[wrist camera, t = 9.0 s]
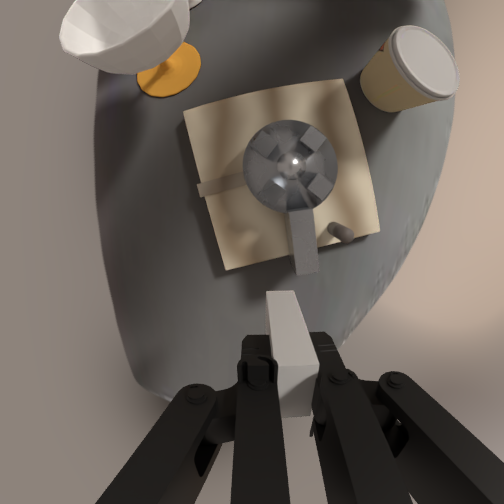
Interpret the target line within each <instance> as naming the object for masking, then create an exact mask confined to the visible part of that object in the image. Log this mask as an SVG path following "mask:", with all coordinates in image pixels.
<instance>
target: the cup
mask: <svg viewBox="0 0 504 504" xmlns="http://www.w3.org/2000/svg"><path fill="white" fill-rule="evenodd" d="M189 23H190V16H189V3H188V0H75V2H74V3H73V4H72V6H71V7H70V9H69V11H68V12H67V14H66V16H65V17H64V19H63V22H62V25H61V30H60V34H59V40H60V43H61V46H62V48H63V51H64V52H66V53H68V54H70V55H72V56H74V57H76V58H77V59H79V60H81V61H83V62H85V63H87V64H89V65H91V66H93V67H96V68H98V69H100V70H103V71H105V72H108V73H115V74H136V73H137V82H138V84H139V85H140V87H141V89H142V90H143V91H144V92H146V93H147V94H149V95H151V96H157V97H166V96H170V95H175V94H177V93H179V92H180V91H182V90H184V89H186V88H187V87H188V86H189V85H190V84H191V83H192V82H193V81H194V80H195V79H196V77H197V75H198V72H199V70H200V67H201V61H200V55H199V53H198V52H197V50H196V49H195V48H194V47H193V46H191V45H189V44H187V43H185V42H183V40H184V38H185V36H186V34H187V32H188V30H189Z"/></svg>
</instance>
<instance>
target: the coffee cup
mask: <svg viewBox="0 0 504 504" xmlns="http://www.w3.org/2000/svg"><path fill="white" fill-rule="evenodd" d="M459 81H460V79H459V70H458V67H457V64H456V62H455V60H454V58H453V56H452V54H451V53H450V51H449V50H448V48H447V47H446V46H445V45H444V43H443V42H442V41H441V40H440V39H439V38H437V37H436V36H435V35H434V34H432V33H431V32H429V31H427V30H426V29H423V28H421V27H418V26H413V25H408V26H400V27H398V28H396V29H395V30H394V31H393V32H392V33H391V35H390V37H389V38H388V39H387V40H386V42H385V43H384V44H383V45H382V46H381V48H380V49H379V50H378V51H377V53H376V54H375V55H374V56H373V58H372V59H371V60H370V61H369V63H368V64H367V65H366V67H365V68H364V69H363V71H362V73H361V76H360V84H361V88H362V91H363V93H364V95H365V97H366V98H367V99H368V100H369V102H370V103H371V104H373V105H374V106H375V107H377V108H378V109H380V110H382V111H385V112H398V111H402V110H405V109H409V108H413V107H416V106H420V105H424V104H427V103H431V102H435V101H442V100H447V99H449V98H451V97H452V96H453V95H454V94H455V93H456V91H457V89H458V86H459Z"/></svg>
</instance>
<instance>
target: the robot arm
mask: <svg viewBox="0 0 504 504" xmlns="http://www.w3.org/2000/svg"><path fill="white" fill-rule="evenodd" d="M237 373H238V382H237V383H236V384H235V385H234V386H232V387H230V388H228V389H225V390H220V391H215V390H214V389H212V388H211V387H210V386H207V385H204V384H191V385H188V386H185V387H183V388H182V389H181V390H180V391H179V392H178V393H177V394H176V396H175V397H174V398H173V400H172V401H171V403H170V404H169V405H168V407H167V408H166V410H165V411H164V412H163V414H162V415H161V416H160V418H159V419H158V421H157V422H156V423H155V425H154V426H153V428H152V429H151V431H150V432H149V433H148V434H147V436H146V437H145V438H144V440H143V441H142V442H141V444H140V445H139V446H138V448H137V449H136V450H135V452H134V453H133V455H132V456H131V457H130V458H129V460H128V461H127V463H126V464H125V465H124V466H123V468H122V469H121V470H120V472H119V473H118V475H117V476H116V477H115V478H114V480H113V481H112V482H111V484H110V485H109V486H108V487H107V489H106V490H105V491H104V493H103V494H102V496H101V497H100V498H99V499H98V500H97V502H96V503H95V504H194V503H195V501H196V499H197V497H198V495H199V493H200V491H201V489H202V487H203V485H204V483H205V481H206V479H207V476H208V474H209V472H210V470H211V468H212V466H213V464H214V461H215V459H216V457H217V455H218V453H219V451H220V448H221V446H222V443H225V442H229V441H234V455H233V470H232V487H231V504H290V496H289V487H288V476H287V467H286V457H285V448H284V438H283V429H282V420H281V418H288V417H302V416H310V414H311V409H312V410H313V415H314V417H313V422H312V426H311V430H310V437H312V436H313V432H314V436H315V441H316V446H317V451H318V456H319V461H320V466H321V470H322V476H323V481H324V485H325V491H326V496H327V501H328V504H413V503H412V500H411V497H410V495H409V493H410V494H411V496H412V497H413V498H414V499H415V501H416V502H417V503H418V504H504V463H503V462H502V461H501V460H500V459H499V458H498V457H497V456H496V455H495V454H493V452H491V451H490V450H489V449H488V448H487V447H486V446H485V445H484V444H482V442H481V441H480V440H478V439H477V438H476V437H475V436H474V435H473V434H472V433H471V432H470V431H469V430H467V429H466V428H465V427H464V426H463V425H462V424H461V423H460V422H459V421H458V420H456V419H455V418H454V417H453V416H452V415H451V414H450V413H449V412H448V411H447V410H445V409H444V408H443V407H442V406H441V405H440V404H439V403H438V402H437V401H435V400H434V399H433V398H432V397H431V396H430V395H429V394H428V393H426V391H424V390H423V389H422V388H421V387H420V386H419V385H418V384H417V383H415V382H414V381H413V380H412V379H411V378H410V377H409V376H407V375H406V374H404V373H401V372H395V371H391V372H386V373H385V374H383V375H381V377H380V379H379V381H365V380H360V379H358V377H357V376H356V374H355V373H354V372H352V371H351V370H349V369H346V368H345V366H344V364H343V362H342V359H341V357H340V355H339V353H338V350H337V348H336V346H335V345H334V342H333V340H332V338H331V337H330V336H329V335H328V334H327V333H325V332H308V329H307V327H306V324H305V321H304V318H303V315H302V312H301V310H300V307H299V304H298V301H297V299H296V296H295V293H294V291H266V335H247V336H246V337H245V338H244V339H243V341H242V351H241V360H240V361H239V362H238V365H237ZM397 419H398V420H399V421H400V422H401V423H400V422H399V421H398V420H397Z"/></svg>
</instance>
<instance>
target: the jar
mask: <svg viewBox="0 0 504 504" xmlns="http://www.w3.org/2000/svg"><path fill="white" fill-rule="evenodd" d="M201 1H202V0H188V3H189V9H190V8H192V7H194V6H196V5H197V4H199V3H200V2H201Z"/></svg>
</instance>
